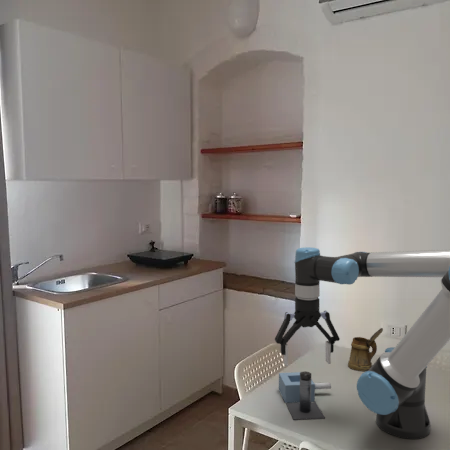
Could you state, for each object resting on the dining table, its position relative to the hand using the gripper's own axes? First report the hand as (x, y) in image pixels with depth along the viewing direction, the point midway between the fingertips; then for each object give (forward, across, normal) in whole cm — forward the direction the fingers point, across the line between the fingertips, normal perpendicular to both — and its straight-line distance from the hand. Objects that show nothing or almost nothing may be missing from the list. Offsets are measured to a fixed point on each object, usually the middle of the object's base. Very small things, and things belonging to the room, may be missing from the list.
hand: (307, 363), depth 142 cm
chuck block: (+16, -3, -12) cm, 20 cm away
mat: (+16, 0, -1) cm, 16 cm away
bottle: (+16, 0, -1) cm, 16 cm away
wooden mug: (+16, -32, -32) cm, 48 cm away
